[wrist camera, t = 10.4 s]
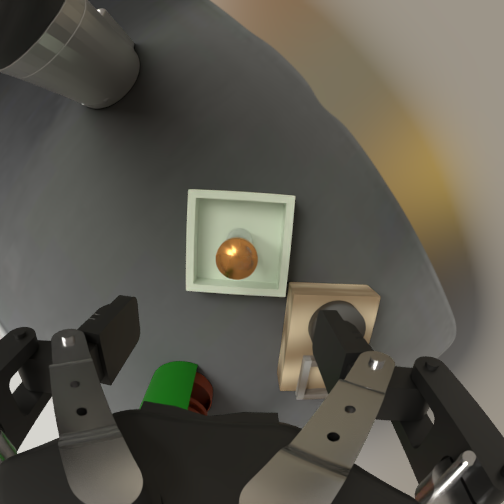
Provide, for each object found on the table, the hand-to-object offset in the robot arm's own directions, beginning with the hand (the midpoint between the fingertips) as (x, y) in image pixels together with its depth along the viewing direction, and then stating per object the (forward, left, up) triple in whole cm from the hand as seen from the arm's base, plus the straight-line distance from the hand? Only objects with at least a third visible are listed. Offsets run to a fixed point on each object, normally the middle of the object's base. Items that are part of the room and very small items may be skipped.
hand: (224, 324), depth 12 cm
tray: (0, 0, -20) cm, 20 cm away
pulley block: (+11, +11, -20) cm, 25 cm away
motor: (+22, -7, -20) cm, 31 cm away
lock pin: (0, 0, -19) cm, 19 cm away
